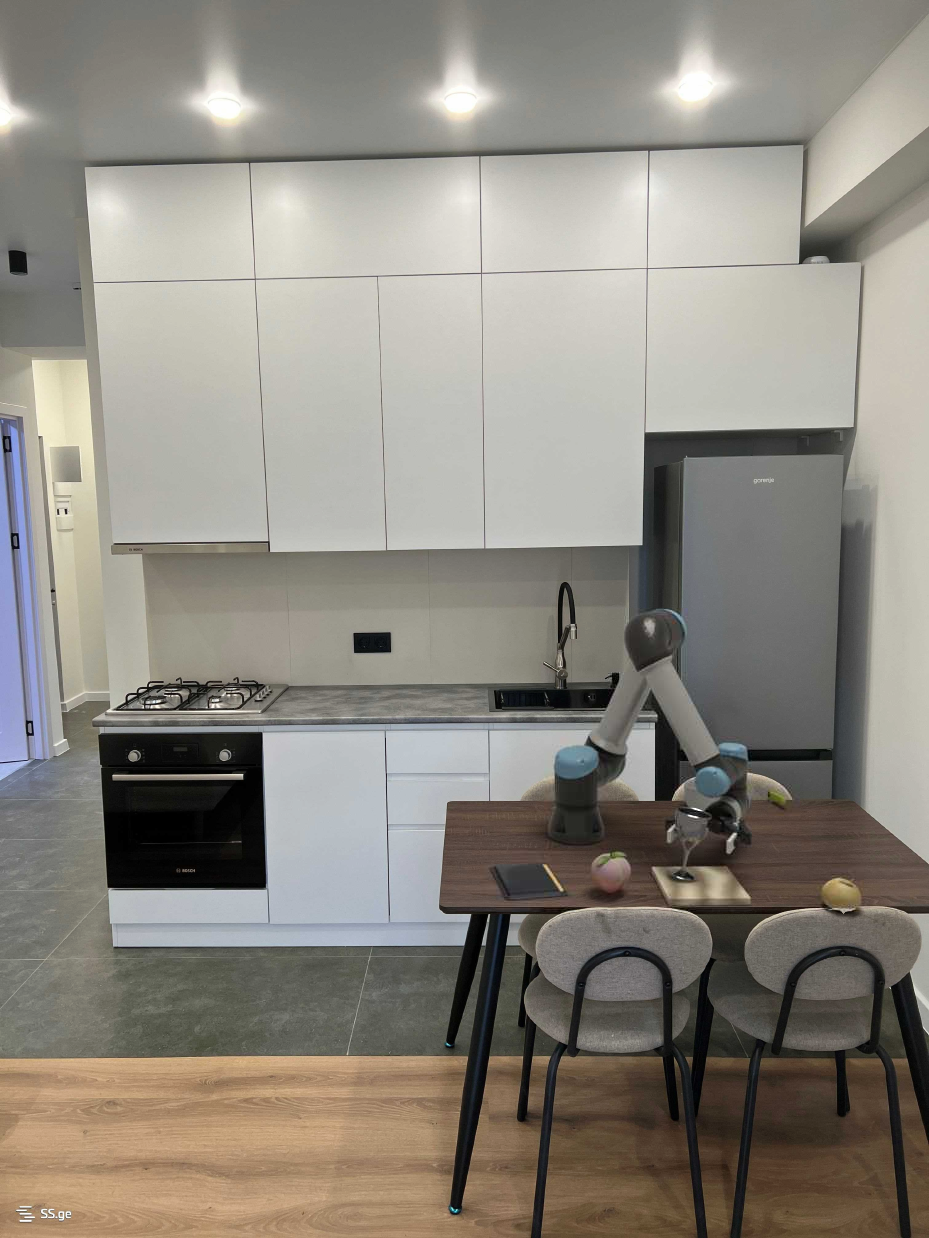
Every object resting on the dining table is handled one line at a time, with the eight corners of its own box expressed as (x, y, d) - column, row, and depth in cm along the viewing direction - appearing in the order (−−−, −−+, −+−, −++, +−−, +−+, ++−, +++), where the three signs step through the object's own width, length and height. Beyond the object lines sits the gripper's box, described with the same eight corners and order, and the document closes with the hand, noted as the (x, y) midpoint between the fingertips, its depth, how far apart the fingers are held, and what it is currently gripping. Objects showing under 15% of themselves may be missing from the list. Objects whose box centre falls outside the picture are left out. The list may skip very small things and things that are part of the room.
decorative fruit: (607, 881, 204) (607, 840, 203) (636, 891, 198) (636, 849, 197) (582, 893, 198) (582, 851, 197) (611, 904, 192) (611, 860, 191)
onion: (821, 913, 187) (822, 881, 186) (820, 898, 194) (821, 867, 193) (862, 918, 184) (863, 886, 183) (859, 903, 191) (860, 872, 191)
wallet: (488, 862, 214) (548, 858, 216) (488, 869, 214) (548, 865, 216) (503, 896, 194) (569, 891, 196) (503, 904, 194) (569, 899, 196)
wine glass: (703, 883, 199) (715, 820, 198) (669, 877, 199) (681, 814, 198) (695, 871, 207) (706, 810, 206) (662, 865, 207) (673, 804, 206)
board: (668, 905, 191) (669, 898, 191) (651, 872, 209) (651, 866, 209) (750, 904, 191) (750, 898, 191) (726, 872, 209) (726, 866, 209)
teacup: (723, 816, 249) (723, 789, 248) (684, 814, 251) (684, 787, 250) (719, 801, 262) (719, 775, 262) (682, 799, 265) (682, 773, 264)
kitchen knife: (749, 791, 275) (749, 781, 275) (753, 791, 276) (753, 781, 275) (782, 808, 253) (782, 798, 253) (786, 808, 253) (786, 797, 253)
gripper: (773, 838, 210) (753, 868, 191) (672, 821, 222) (644, 848, 204) (774, 808, 209) (754, 835, 191) (672, 793, 221) (645, 817, 203)
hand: (697, 842), depth 197 cm, fingers open, 13 cm apart
